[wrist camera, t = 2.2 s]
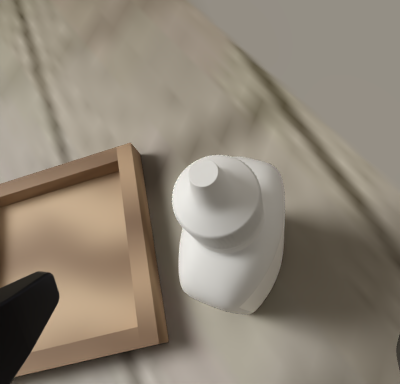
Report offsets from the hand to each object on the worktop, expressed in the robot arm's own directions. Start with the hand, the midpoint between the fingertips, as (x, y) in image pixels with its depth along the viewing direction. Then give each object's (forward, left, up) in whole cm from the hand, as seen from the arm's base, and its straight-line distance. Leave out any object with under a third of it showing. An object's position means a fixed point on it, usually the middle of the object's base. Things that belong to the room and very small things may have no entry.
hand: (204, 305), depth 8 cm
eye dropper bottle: (+3, 0, -10) cm, 11 cm away
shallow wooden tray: (+1, +12, -10) cm, 15 cm away
